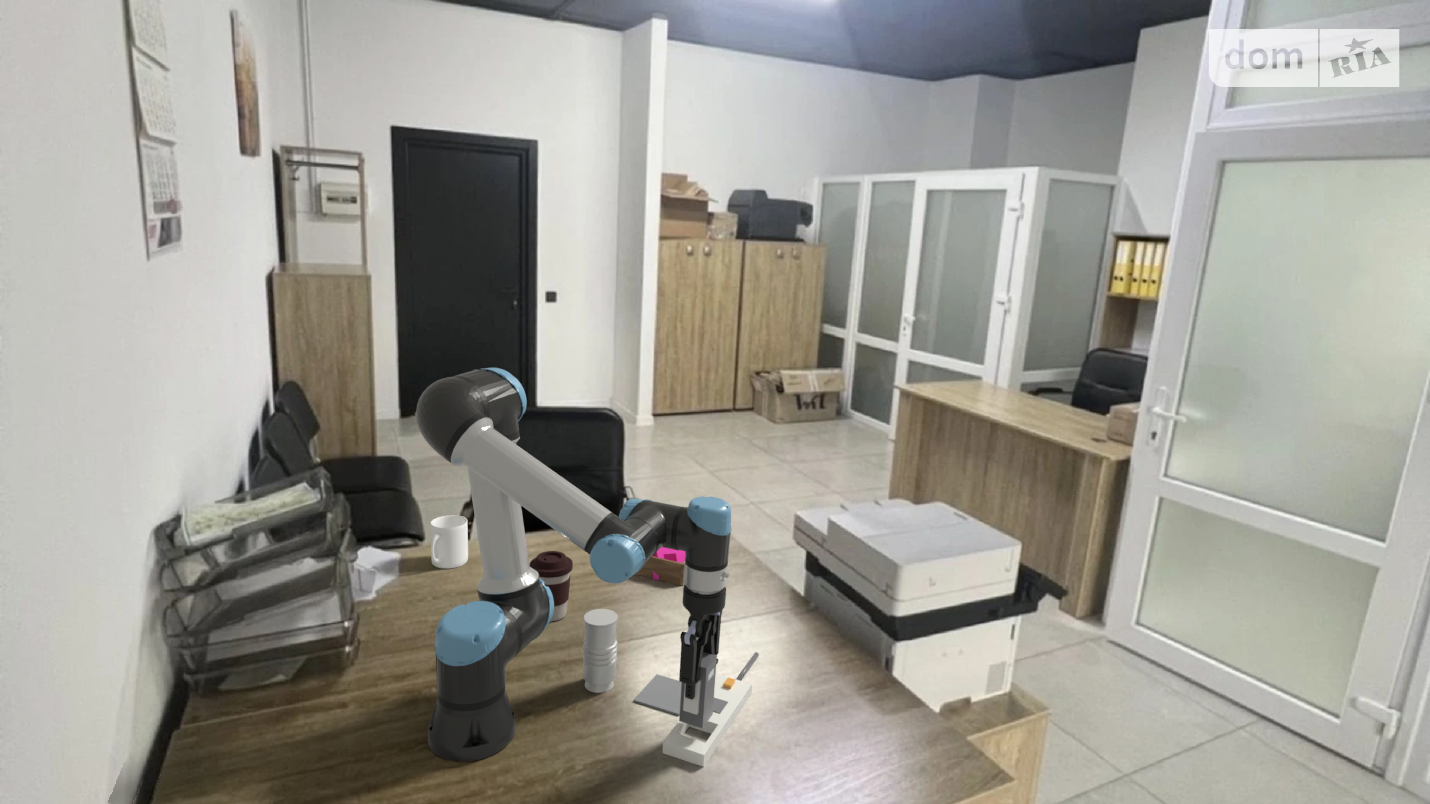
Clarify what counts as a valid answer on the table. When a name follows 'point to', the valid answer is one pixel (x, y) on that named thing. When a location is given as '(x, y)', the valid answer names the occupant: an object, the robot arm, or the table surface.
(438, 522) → the mug
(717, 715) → the power strip
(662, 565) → the display box
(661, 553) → the bracket
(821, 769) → the table surface
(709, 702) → the block
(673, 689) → the mat
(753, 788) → the table surface
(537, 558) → the coffee cup
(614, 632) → the grey ribbed canister
